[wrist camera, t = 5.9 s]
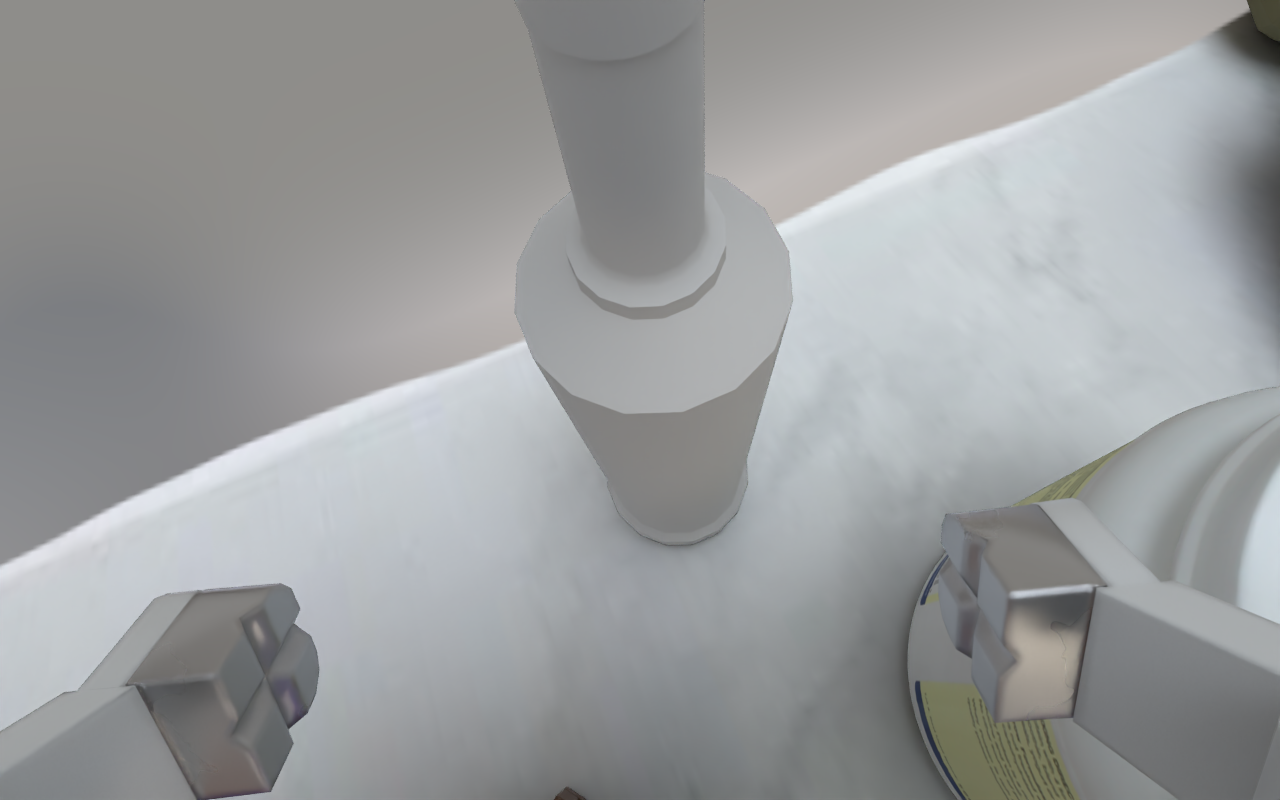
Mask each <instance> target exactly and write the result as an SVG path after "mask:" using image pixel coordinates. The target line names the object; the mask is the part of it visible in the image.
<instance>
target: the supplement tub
mask: <svg viewBox="0 0 1280 800" xmlns="http://www.w3.org/2000/svg"><path fill="white" fill-rule="evenodd" d="M1066 498H1075V499H1077V500H1080V501H1082V502H1083V503H1084V504H1085V505H1086V506H1087V507H1088V508H1089V509H1090V510H1091V511H1092V512H1093V513H1094V514H1095V515H1096V516H1097V517H1098V518H1099V519H1100V520H1101V521H1102V522H1103V523H1104V524H1105V525H1106V526H1107V527H1108V528H1109V529H1110V530H1111V531H1112V532H1113V534H1114V535H1115V536H1116V537H1117V538H1118V539H1119V540H1120V541H1121V542H1122V543H1123V544H1124V545H1125V546H1126V547H1127V548H1128V549H1129V550H1130V551H1131V552H1132V553H1133V554H1134V555H1135V556H1136V557H1137V558H1138V559H1139V560H1140V561H1141V562H1142V563H1143V564H1144V565H1145V566H1146V567H1147V568H1148V569H1149V570H1150V572H1151V573H1152V574H1153V575H1154V576H1155V577H1156V578H1157V579H1158V580H1159V581H1160V582H1162V581H1173V580H1175V581H1177V582H1179V583H1182V584H1184V585H1187V586H1189V587H1191V588H1194V589H1196V590H1199V591H1201V592H1204V593H1206V594H1208V595H1211V596H1213V597H1216V598H1218V599H1220V600H1223V601H1225V602H1228V603H1230V604H1232V605H1235V606H1237V607H1240V608H1242V609H1244V610H1247V611H1249V612H1252V613H1254V614H1256V615H1259V616H1261V617H1264V618H1266V619H1268V620H1271V621H1273V622H1276V623H1278V624H1280V387H1272V388H1266V389H1261V390H1255V391H1250V392H1245V393H1242V394H1238V395H1234V396H1231V397H1227V398H1224V399H1221V400H1217V401H1213V402H1209V403H1206V404H1203V405H1200V406H1198V407H1195V408H1192V409H1189V410H1187V411H1185V412H1182V413H1180V414H1178V415H1175V416H1173V417H1171V418H1169V419H1167V420H1165V421H1163V422H1161V423H1159V424H1158V425H1156V426H1154V427H1153V428H1151V429H1150V430H1148V431H1147V432H1145V433H1144V434H1142V435H1141V436H1139V437H1138V438H1136V439H1135V440H1133V441H1131V442H1129V443H1128V444H1126V445H1124V446H1122V447H1120V448H1118V449H1116V450H1114V451H1112V452H1111V453H1109V454H1107V455H1105V456H1103V457H1101V458H1099V459H1097V460H1096V461H1094V462H1092V463H1090V464H1088V465H1086V466H1084V467H1082V468H1081V469H1079V470H1077V471H1075V472H1073V473H1071V474H1069V475H1067V476H1066V477H1064V478H1062V479H1060V480H1058V481H1056V482H1055V483H1053V484H1051V485H1049V486H1047V487H1045V488H1044V489H1042V490H1040V491H1038V492H1036V493H1034V494H1033V495H1031V496H1029V497H1027V498H1025V499H1023V500H1022V501H1020V502H1018V503H1016V504H1014V505H1012V506H1011V507H1014V506H1023V505H1029V504H1030V503H1036V502H1044V501H1051V500H1059V499H1066ZM949 559H950V557H949V556H948V554H947V552H946V553H945V554H944V555H943V556H942V558H941V559H940V560H939V562H938V563H937V564H936V566H935V567H934V569H933V570H932V572H931V574H930V576H929V577H928V579H927V581H926V583H925V585H924V587H923V589H922V592H921V594H920V596H919V599H918V602H917V605H916V608H915V611H914V614H913V618H912V623H911V628H910V634H909V641H908V678H909V686H910V694H911V699H912V703H913V708H914V712H915V716H916V719H917V722H918V725H919V728H920V731H921V734H922V737H923V740H924V742H925V744H926V747H927V749H928V751H929V753H930V756H931V758H932V760H933V762H934V763H935V765H936V767H937V769H938V771H939V772H940V774H941V776H942V777H943V779H944V781H945V782H946V784H947V785H948V787H949V788H950V790H951V791H952V792H953V794H954V795H955V796H956V798H957V799H958V800H1178V799H1177V798H1175V797H1174V796H1173V795H1171V794H1170V793H1169V792H1167V791H1166V790H1165V789H1163V788H1162V787H1161V786H1159V785H1158V784H1157V783H1155V782H1154V781H1152V780H1151V779H1150V778H1148V777H1147V776H1146V775H1144V774H1143V773H1142V772H1140V771H1139V770H1138V769H1136V768H1135V767H1134V766H1132V765H1131V764H1130V763H1128V762H1127V761H1126V760H1124V759H1123V758H1121V757H1120V756H1119V755H1117V754H1116V753H1115V752H1113V751H1112V750H1111V749H1109V748H1108V747H1107V746H1105V745H1104V744H1103V743H1101V742H1100V741H1099V740H1097V739H1096V738H1095V737H1093V736H1092V735H1090V734H1089V733H1088V732H1086V731H1085V730H1084V729H1082V728H1081V727H1080V726H1078V725H1077V724H1076V723H1074V722H1073V718H1061V719H1046V720H1031V721H1016V722H1001V723H995V722H994V720H993V718H992V716H991V714H990V713H989V711H988V709H987V707H986V705H985V703H984V701H983V700H982V698H981V696H980V694H979V692H978V690H977V688H976V687H975V685H974V683H973V681H972V679H971V667H972V659H971V658H969V657H968V656H966V655H965V654H963V653H961V652H960V651H958V650H956V649H955V647H954V645H953V643H952V641H951V639H950V637H949V635H948V633H947V630H946V627H945V624H944V621H943V619H942V615H941V608H940V602H939V596H938V583H939V571H940V570H941V569H942V568H943V566H944V565H945V564H946V563H947V562H948V561H949Z"/></svg>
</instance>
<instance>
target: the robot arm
mask: <svg viewBox="0 0 1280 800" xmlns="http://www.w3.org/2000/svg"><path fill="white" fill-rule="evenodd" d="M941 544H942V545H943V547H944V549H945V550H946V552H947V554H948V556H949V557H950V559H949V561H948V562H947V563H946V564H945V565H944V566H943V568H942V569H941V570H940V571H939V583H938V596H939V602H940V608H941V615H942V619H943V621H944V624H945V627H946V630H947V633H948V635H949V637H950V639H951V641H952V643H953V645H954V647H955V649H956V650H958V651H960V652H961V653H963V654H965V655H966V656H968V657H969V658H971V659H972V667H971V679H972V681H973V683H974V685H975V687H976V688H977V690H978V692H979V694H980V696H981V698H982V700H983V701H984V703H985V705H986V707H987V709H988V711H989V713H990V714H991V716H992V718H993V720H994V722H995V723H1001V722H1016V721H1031V720H1046V719H1061V718H1073V722H1074V723H1076V724H1077V725H1078V726H1080V727H1081V728H1082V729H1084V730H1085V731H1086V732H1088V733H1089V734H1090V735H1092V736H1093V737H1095V738H1096V739H1097V740H1099V741H1100V742H1101V743H1103V744H1104V745H1105V746H1107V747H1108V748H1109V749H1111V750H1112V751H1113V752H1115V753H1116V754H1117V755H1119V756H1120V757H1121V758H1123V759H1124V760H1126V761H1127V762H1128V763H1130V764H1131V765H1132V766H1134V767H1135V768H1136V769H1138V770H1139V771H1140V772H1142V773H1143V774H1144V775H1146V776H1147V777H1148V778H1150V779H1151V780H1152V781H1154V782H1155V783H1157V784H1158V785H1159V786H1161V787H1162V788H1163V789H1165V790H1166V791H1167V792H1169V793H1170V794H1171V795H1173V796H1174V797H1175V798H1177V799H1178V800H1280V624H1278V623H1276V622H1273V621H1271V620H1268V619H1266V618H1264V617H1261V616H1259V615H1256V614H1254V613H1252V612H1249V611H1247V610H1244V609H1242V608H1240V607H1237V606H1235V605H1232V604H1230V603H1228V602H1225V601H1223V600H1220V599H1218V598H1216V597H1213V596H1211V595H1208V594H1206V593H1204V592H1201V591H1199V590H1196V589H1194V588H1191V587H1189V586H1187V585H1184V584H1182V583H1179V582H1177V581H1175V580H1173V581H1162V582H1160V581H1159V580H1158V579H1157V578H1156V577H1155V576H1154V575H1153V574H1152V573H1151V572H1150V570H1149V569H1148V568H1147V567H1146V566H1145V565H1144V564H1143V563H1142V562H1141V561H1140V560H1139V559H1138V558H1137V557H1136V556H1135V555H1134V554H1133V553H1132V552H1131V551H1130V550H1129V549H1128V548H1127V547H1126V546H1125V545H1124V544H1123V543H1122V542H1121V541H1120V540H1119V539H1118V538H1117V537H1116V536H1115V535H1114V534H1113V532H1112V531H1111V530H1110V529H1109V528H1108V527H1107V526H1106V525H1105V524H1104V523H1103V522H1102V521H1101V520H1100V519H1099V518H1098V517H1097V516H1096V515H1095V514H1094V513H1093V512H1092V511H1091V510H1090V509H1089V508H1088V507H1087V506H1086V505H1085V504H1084V503H1083V502H1082V501H1080V500H1077V499H1075V498H1066V499H1059V500H1051V501H1044V502H1036V503H1030V504H1029V505H1023V506H1014V507H1005V508H996V509H987V510H978V511H969V512H960V513H952V514H946V515H945V518H944V521H943V524H942V532H941ZM299 611H300V607H299V605H298V602H297V600H296V598H295V596H294V593H293V591H292V589H291V588H290V587H287V586H285V585H283V584H281V583H279V584H267V585H255V586H243V587H231V588H219V589H207V590H204V591H200V590H197V591H187V592H177V593H168V594H165V595H162V596H160V597H157V598H155V599H154V600H153V601H152V602H151V603H150V604H149V606H148V607H147V608H146V609H145V610H144V612H143V613H142V614H141V615H140V616H139V618H138V619H137V620H136V621H135V622H134V624H133V625H132V626H131V627H130V628H129V630H128V631H127V632H126V633H125V634H124V635H123V637H122V638H121V639H120V640H119V641H118V643H117V644H116V645H115V646H114V647H113V649H112V650H111V651H110V652H109V653H108V655H107V656H106V657H105V658H104V659H103V661H102V662H101V663H100V664H99V665H98V667H97V668H96V669H95V670H94V671H93V673H92V674H91V675H90V676H89V677H88V679H87V680H86V681H85V682H84V683H83V684H82V686H81V687H80V688H79V689H78V690H77V691H73V692H64V693H62V694H61V695H59V696H57V697H56V698H54V699H53V700H51V701H49V702H48V703H46V704H44V705H43V706H41V707H40V708H38V709H36V710H35V711H33V712H31V713H30V714H28V715H26V716H25V717H23V718H22V719H20V720H18V721H17V722H15V723H13V724H12V725H10V726H9V727H7V728H5V729H4V730H2V731H0V800H208V799H217V798H225V797H233V796H241V795H249V794H257V793H265V792H271V790H272V788H273V786H274V784H275V782H276V780H277V778H278V775H279V773H280V771H281V769H282V767H283V765H284V763H285V761H286V759H287V756H288V754H289V752H290V750H291V748H292V746H293V744H294V743H293V741H292V738H291V735H290V733H289V730H288V729H289V728H290V727H292V726H293V725H294V724H295V723H296V722H298V721H299V720H300V719H301V718H302V717H304V716H305V715H306V714H307V713H308V711H309V709H310V707H311V704H312V702H313V700H314V697H315V695H316V691H317V684H318V677H319V663H318V656H317V650H316V648H315V645H314V642H313V640H312V637H311V636H310V635H309V634H307V633H306V632H305V631H303V630H302V629H300V628H299V627H298V626H296V625H295V624H294V622H295V620H296V618H297V615H298V613H299Z"/></svg>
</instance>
